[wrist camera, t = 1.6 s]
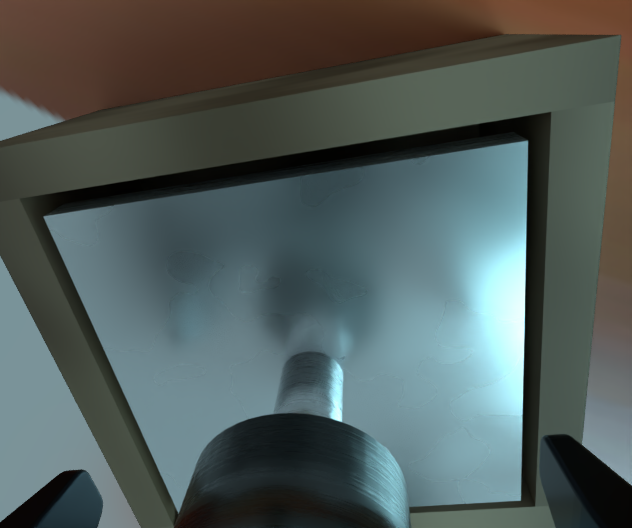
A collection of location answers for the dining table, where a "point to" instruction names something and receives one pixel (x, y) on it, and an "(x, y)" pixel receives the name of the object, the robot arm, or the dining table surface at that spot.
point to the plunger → (319, 332)
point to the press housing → (327, 145)
